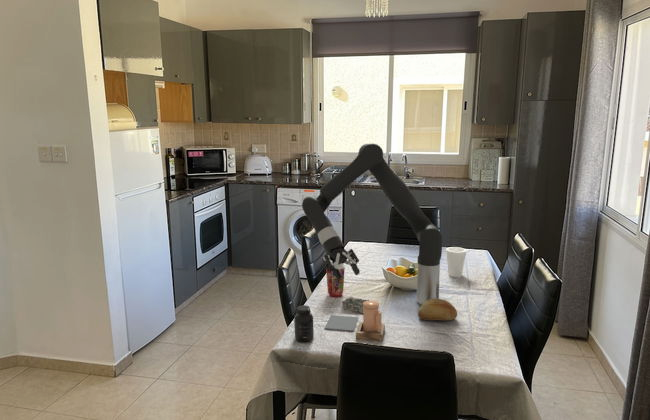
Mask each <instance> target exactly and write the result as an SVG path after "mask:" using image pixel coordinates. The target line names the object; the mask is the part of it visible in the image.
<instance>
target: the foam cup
mask: <svg viewBox="0 0 650 420" xmlns="http://www.w3.org/2000/svg"><path fill="white" fill-rule="evenodd" d="M445 254H446V263H447V273H448V276H450V277H452V278H460V277H462V275H463V271H464V266H465V265H464V264H465V259H466V256H467V250H466V248H463V247H458V246H451V247H446V249H445Z"/></svg>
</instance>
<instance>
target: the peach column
mask: <svg viewBox="0 0 650 420" xmlns="http://www.w3.org/2000/svg"><path fill="white" fill-rule="evenodd" d="M379 307H380V303H379V301H376V300H370V299H369V301H365V302H363V312H362V313H363V315H362V316H363V317H362V319H363V321H362V322H363V330H362V332H372V333H380V331H381V323H382V312H381V311H380V310H379Z"/></svg>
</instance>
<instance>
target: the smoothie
mask: <svg viewBox="0 0 650 420" xmlns="http://www.w3.org/2000/svg"><path fill="white" fill-rule="evenodd" d="M330 262H331V264H332V261H331V260H330ZM345 267H346V265H345V263H343V264H339V265H338V267H337V269H339V271H340V273H341V275H342V278H341V280H338V279H337V278H336V276H335V274H334V272H332V271H327V269H326V268H325V271H326V272H325V273H326V285H327V286H326V287H327V294H328V296H329V297H330V298H335V299H336V298H341V297H342V296H343V295H344V294H343V293H344V286H345V284H344V283H345Z"/></svg>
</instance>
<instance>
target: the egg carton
mask: <svg viewBox="0 0 650 420" xmlns="http://www.w3.org/2000/svg"><path fill="white" fill-rule="evenodd" d="M365 301H370V299H362V298H356V297H354V296H353V297H352V296H349V297H347V298H345V299H344V300H341V303H342V305H341V307H342V309H343V310H344V311H347V310H348V311H349V310H350V311H351V312H359V313H363V302H365Z"/></svg>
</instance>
